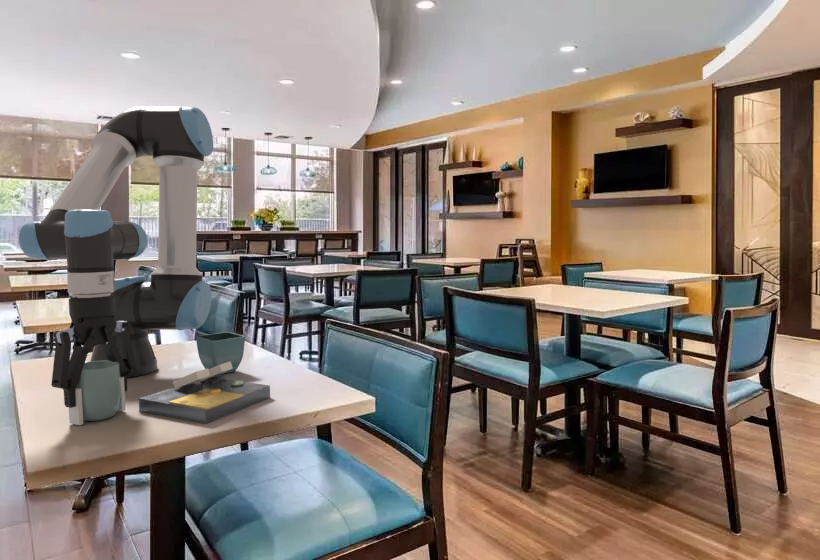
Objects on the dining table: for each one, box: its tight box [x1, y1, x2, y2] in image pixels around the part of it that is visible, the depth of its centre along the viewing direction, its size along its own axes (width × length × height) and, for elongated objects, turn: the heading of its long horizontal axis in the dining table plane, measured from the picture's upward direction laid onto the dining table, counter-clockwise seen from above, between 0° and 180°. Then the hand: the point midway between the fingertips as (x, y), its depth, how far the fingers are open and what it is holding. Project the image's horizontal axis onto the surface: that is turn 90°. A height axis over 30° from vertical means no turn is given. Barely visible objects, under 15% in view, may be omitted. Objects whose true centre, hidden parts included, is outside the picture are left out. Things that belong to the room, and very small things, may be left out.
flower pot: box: [195, 331, 246, 376], centre depth 141 cm, size 9×9×9 cm
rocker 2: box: [199, 361, 233, 382], centre depth 123 cm, size 7×3×2 cm, turn 63°
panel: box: [138, 374, 271, 425], centre depth 116 cm, size 17×18×3 cm
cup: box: [76, 360, 121, 422], centre depth 107 cm, size 8×8×10 cm
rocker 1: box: [172, 368, 210, 389], centre depth 117 cm, size 7×3×2 cm, turn 63°
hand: (98, 416), depth 108 cm, fingers closed on cup, 8 cm apart
